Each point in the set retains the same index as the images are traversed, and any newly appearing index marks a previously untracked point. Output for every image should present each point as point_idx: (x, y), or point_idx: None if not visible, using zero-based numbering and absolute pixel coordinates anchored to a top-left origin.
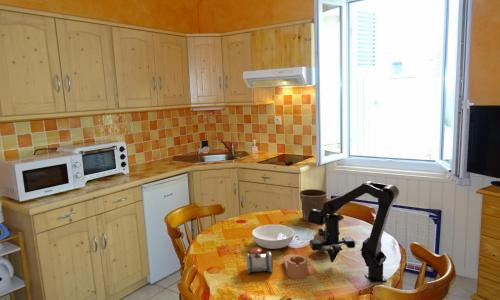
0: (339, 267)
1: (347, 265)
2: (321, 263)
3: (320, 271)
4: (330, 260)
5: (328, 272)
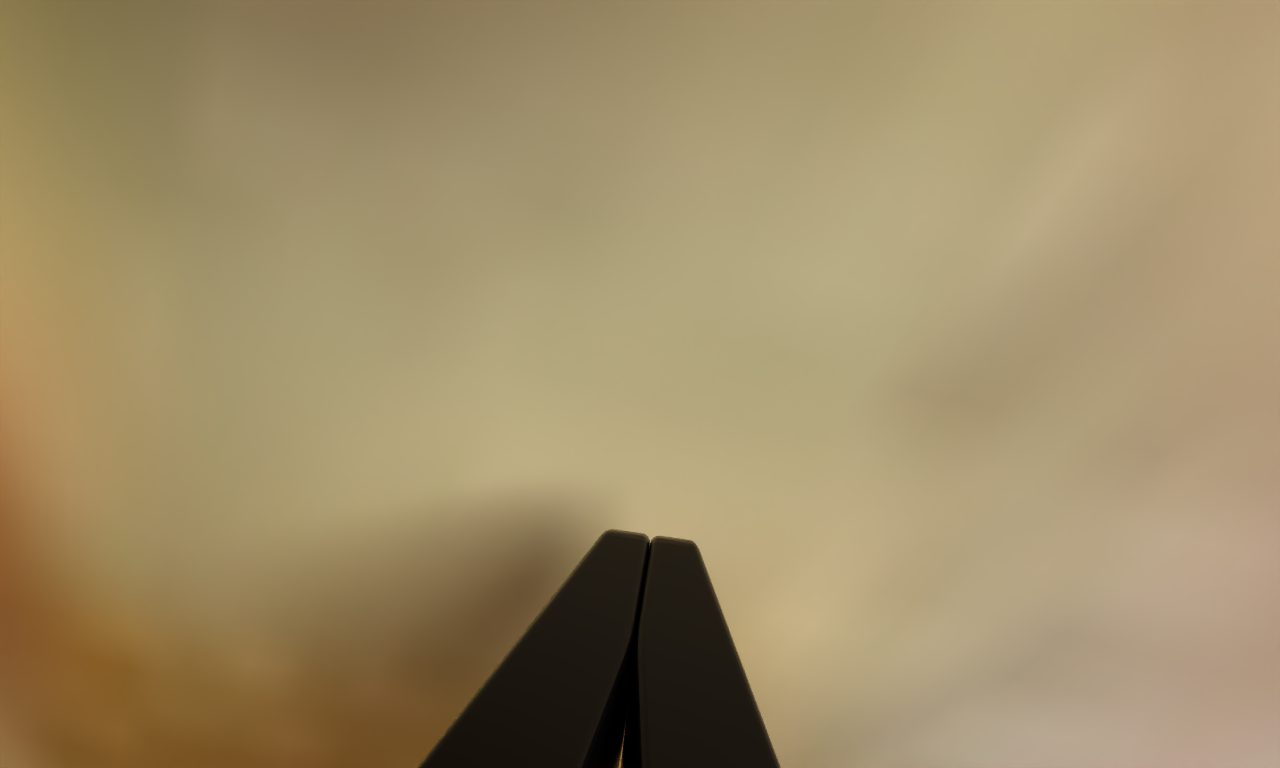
0: (876, 608)
1: (1272, 587)
2: (267, 162)
3: (166, 618)
4: (584, 560)
5: (397, 712)
